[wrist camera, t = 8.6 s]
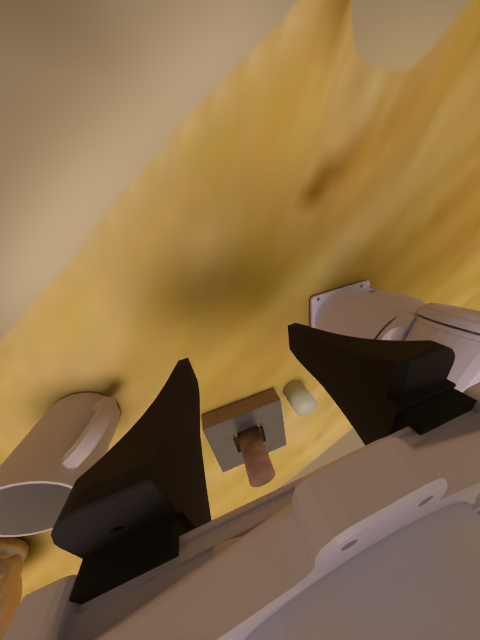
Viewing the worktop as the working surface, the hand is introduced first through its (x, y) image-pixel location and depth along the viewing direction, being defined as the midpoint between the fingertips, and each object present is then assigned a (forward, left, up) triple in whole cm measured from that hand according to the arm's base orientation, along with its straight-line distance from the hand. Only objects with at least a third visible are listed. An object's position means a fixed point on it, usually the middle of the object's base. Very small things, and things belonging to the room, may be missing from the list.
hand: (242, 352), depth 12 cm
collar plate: (+1, +22, -10) cm, 24 cm away
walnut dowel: (+1, +22, -10) cm, 24 cm away
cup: (+18, +8, -10) cm, 22 cm away
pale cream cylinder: (-8, +18, -10) cm, 22 cm away
